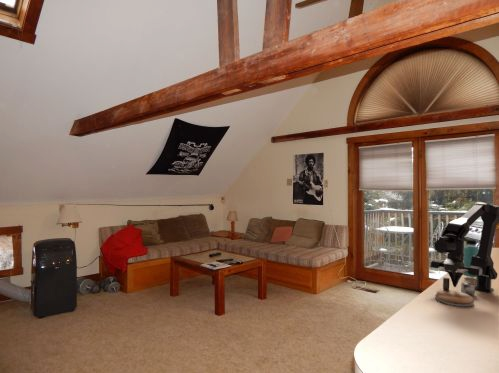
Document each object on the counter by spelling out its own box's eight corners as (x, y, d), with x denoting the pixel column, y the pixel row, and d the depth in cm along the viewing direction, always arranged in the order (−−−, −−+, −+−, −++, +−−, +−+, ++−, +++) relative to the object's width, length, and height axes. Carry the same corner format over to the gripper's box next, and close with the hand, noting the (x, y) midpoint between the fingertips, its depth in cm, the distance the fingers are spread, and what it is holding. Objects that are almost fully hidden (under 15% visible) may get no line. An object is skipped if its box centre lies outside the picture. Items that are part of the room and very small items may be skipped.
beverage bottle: (480, 280, 171) (481, 241, 170) (465, 279, 172) (467, 240, 171) (474, 276, 177) (475, 238, 176) (460, 275, 179) (461, 238, 178)
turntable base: (441, 292, 153) (441, 290, 153) (478, 301, 143) (478, 299, 143) (430, 300, 144) (430, 297, 144) (468, 310, 134) (468, 308, 134)
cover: (462, 291, 155) (463, 280, 154) (475, 294, 151) (476, 283, 151) (459, 294, 151) (459, 283, 151) (472, 297, 148) (472, 286, 147)
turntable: (429, 290, 152) (429, 277, 152) (459, 291, 151) (460, 278, 151) (445, 303, 137) (446, 288, 137) (479, 304, 136) (480, 289, 136)
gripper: (426, 250, 150) (425, 285, 150) (475, 257, 136) (474, 296, 136) (435, 247, 157) (434, 280, 158) (483, 254, 144) (481, 290, 144)
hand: (454, 286), depth 149 cm, fingers closed
